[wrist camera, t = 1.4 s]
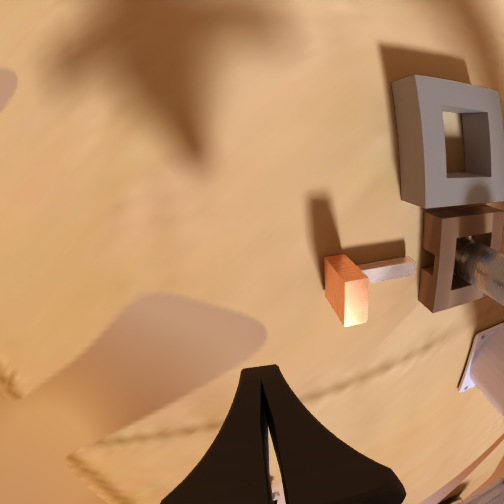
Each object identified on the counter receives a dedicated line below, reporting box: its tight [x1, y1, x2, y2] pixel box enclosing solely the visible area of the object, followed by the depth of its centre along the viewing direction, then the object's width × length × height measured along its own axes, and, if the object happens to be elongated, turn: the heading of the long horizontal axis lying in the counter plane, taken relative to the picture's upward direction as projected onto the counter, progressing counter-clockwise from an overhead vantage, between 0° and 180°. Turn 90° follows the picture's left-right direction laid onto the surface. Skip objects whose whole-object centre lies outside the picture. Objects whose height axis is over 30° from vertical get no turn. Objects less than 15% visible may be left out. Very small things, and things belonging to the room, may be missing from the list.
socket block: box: [418, 205, 504, 313], centre depth 19 cm, size 7×7×2 cm
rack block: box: [391, 75, 504, 209], centre depth 16 cm, size 8×8×3 cm
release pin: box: [324, 254, 415, 327], centre depth 18 cm, size 6×3×4 cm, turn 97°
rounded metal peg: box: [453, 237, 504, 307], centre depth 17 cm, size 3×3×8 cm
